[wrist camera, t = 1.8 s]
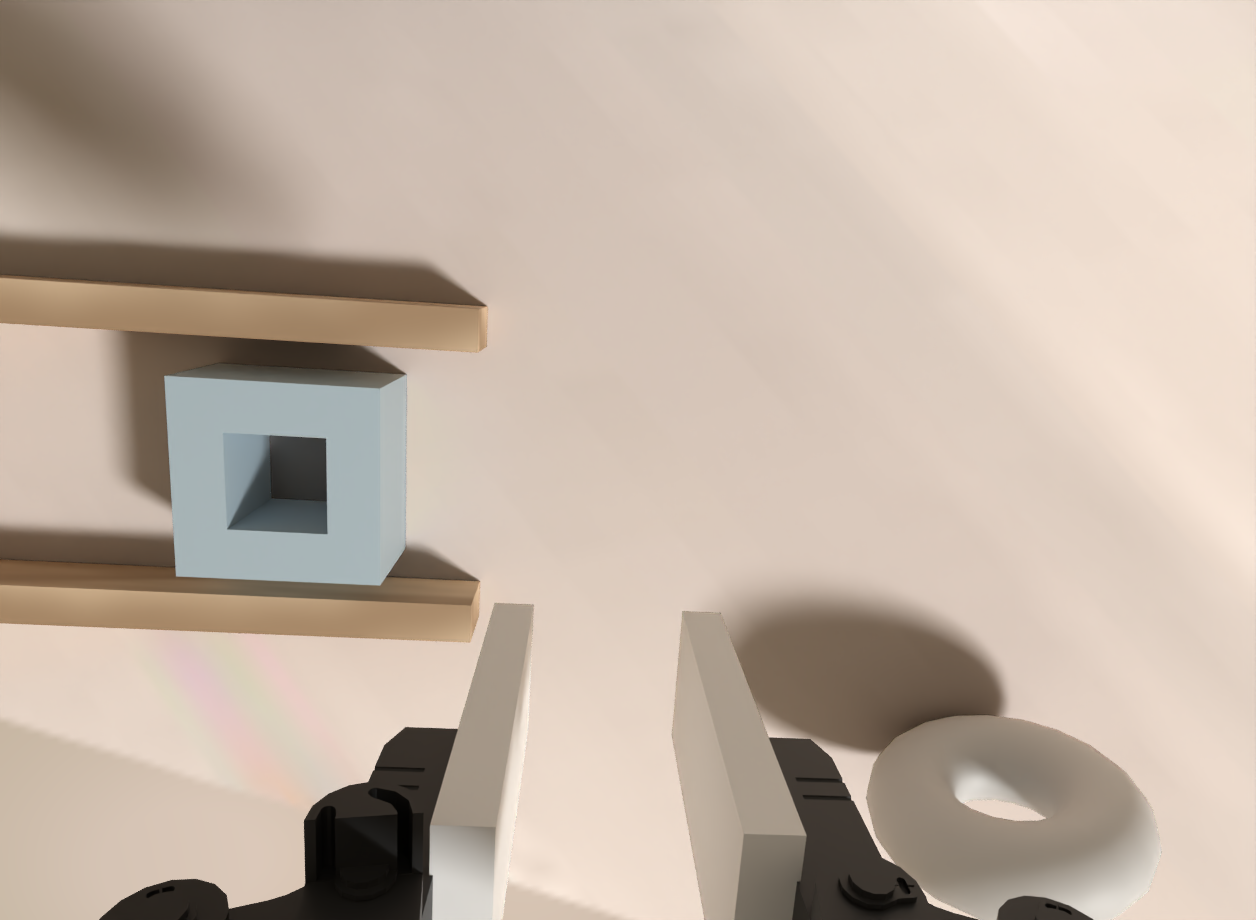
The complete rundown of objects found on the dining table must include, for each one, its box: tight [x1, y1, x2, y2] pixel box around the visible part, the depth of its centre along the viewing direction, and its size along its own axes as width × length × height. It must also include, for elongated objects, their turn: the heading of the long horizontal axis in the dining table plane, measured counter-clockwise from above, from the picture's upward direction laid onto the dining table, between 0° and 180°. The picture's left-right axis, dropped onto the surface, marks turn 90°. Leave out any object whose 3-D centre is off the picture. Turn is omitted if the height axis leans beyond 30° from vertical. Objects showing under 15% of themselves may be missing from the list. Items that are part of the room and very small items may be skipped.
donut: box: [866, 715, 1162, 920], centre depth 31 cm, size 10×3×10 cm, turn 96°
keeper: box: [164, 363, 407, 586], centre depth 30 cm, size 7×7×4 cm
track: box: [0, 275, 488, 642], centre depth 30 cm, size 12×24×3 cm, turn 86°
